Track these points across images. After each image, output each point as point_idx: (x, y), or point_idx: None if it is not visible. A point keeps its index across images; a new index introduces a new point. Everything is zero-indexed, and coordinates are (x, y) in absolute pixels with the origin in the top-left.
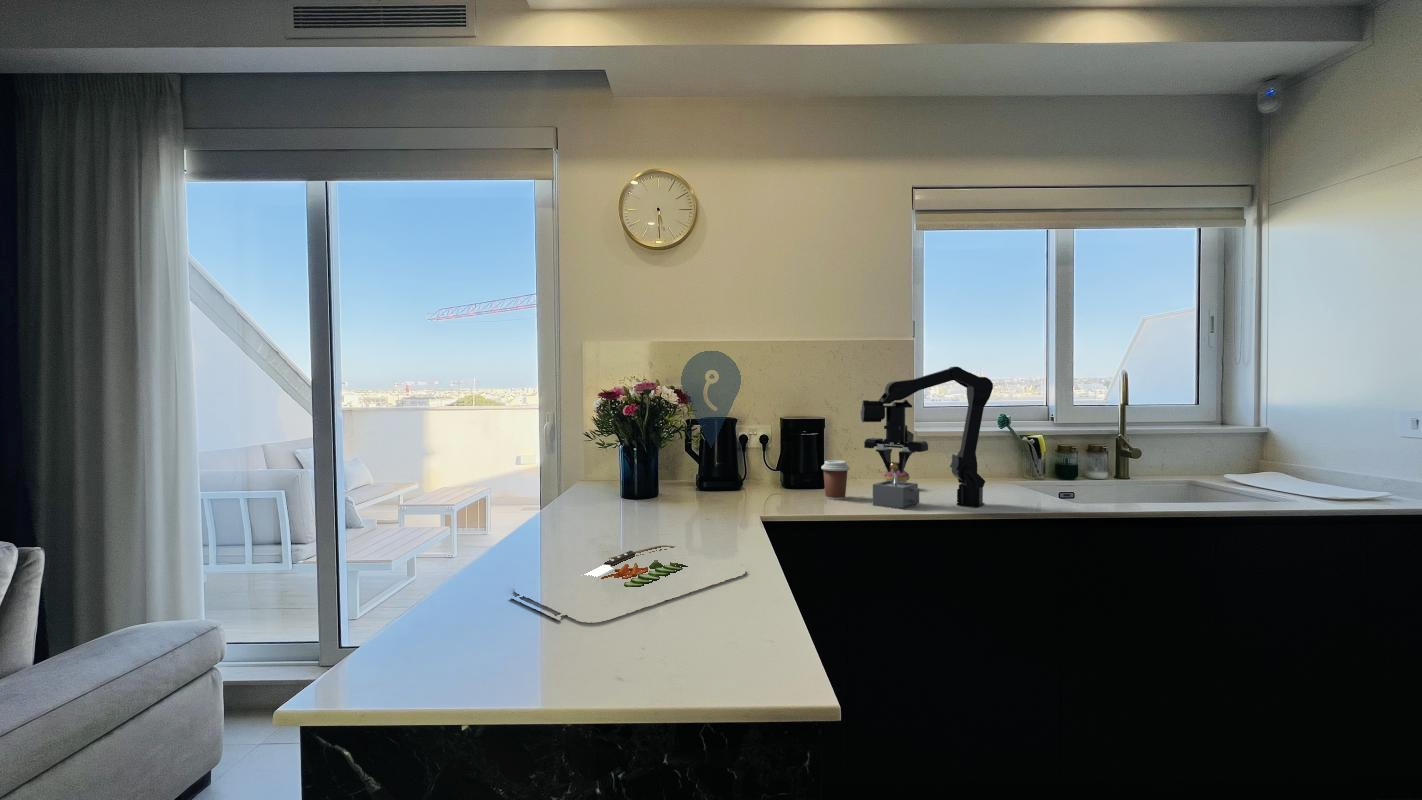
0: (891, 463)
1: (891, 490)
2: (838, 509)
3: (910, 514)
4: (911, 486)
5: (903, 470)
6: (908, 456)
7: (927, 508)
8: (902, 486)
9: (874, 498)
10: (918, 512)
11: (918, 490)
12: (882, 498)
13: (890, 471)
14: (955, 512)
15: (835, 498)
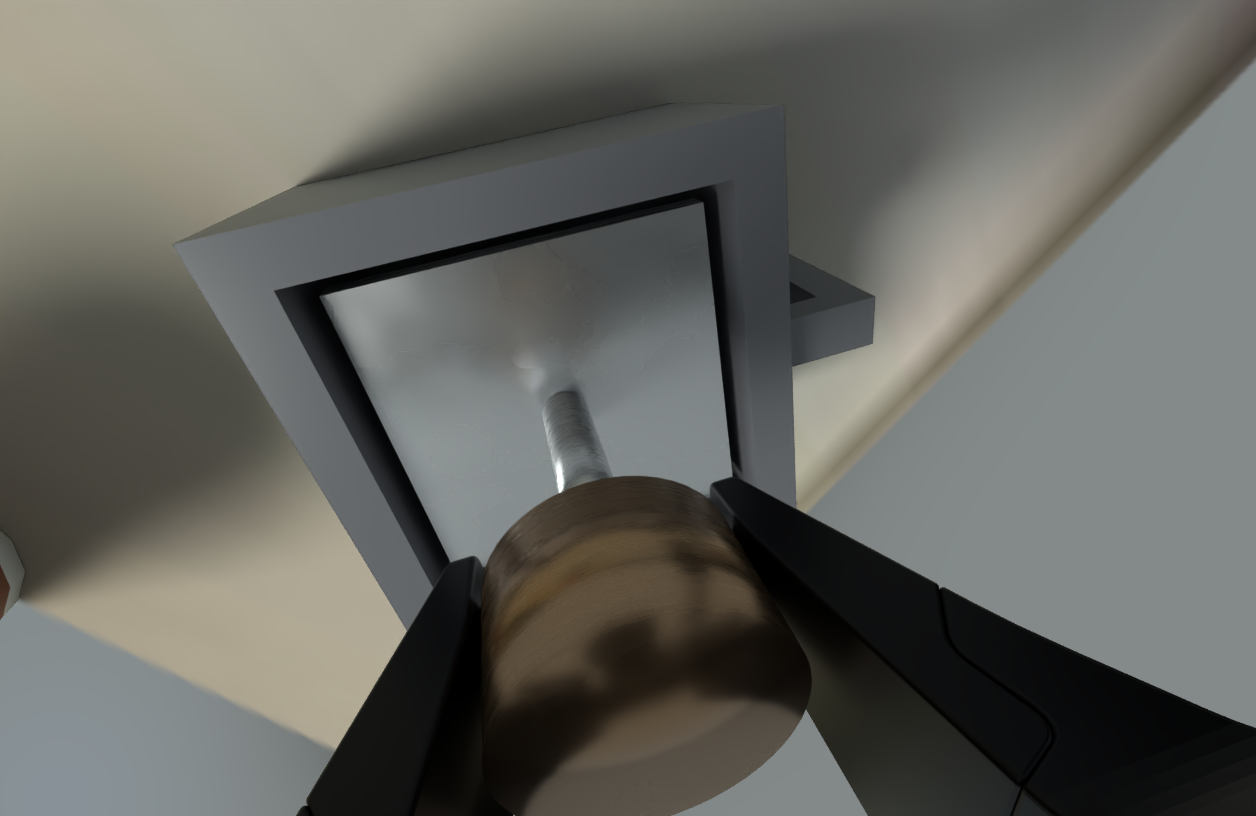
0: (640, 812)
1: None
2: None
3: (825, 482)
4: (782, 331)
5: (767, 499)
6: (1210, 759)
7: (832, 206)
8: (660, 372)
9: None
10: (839, 396)
11: (863, 315)
12: None
13: (481, 567)
14: (1066, 156)
15: (2, 616)
